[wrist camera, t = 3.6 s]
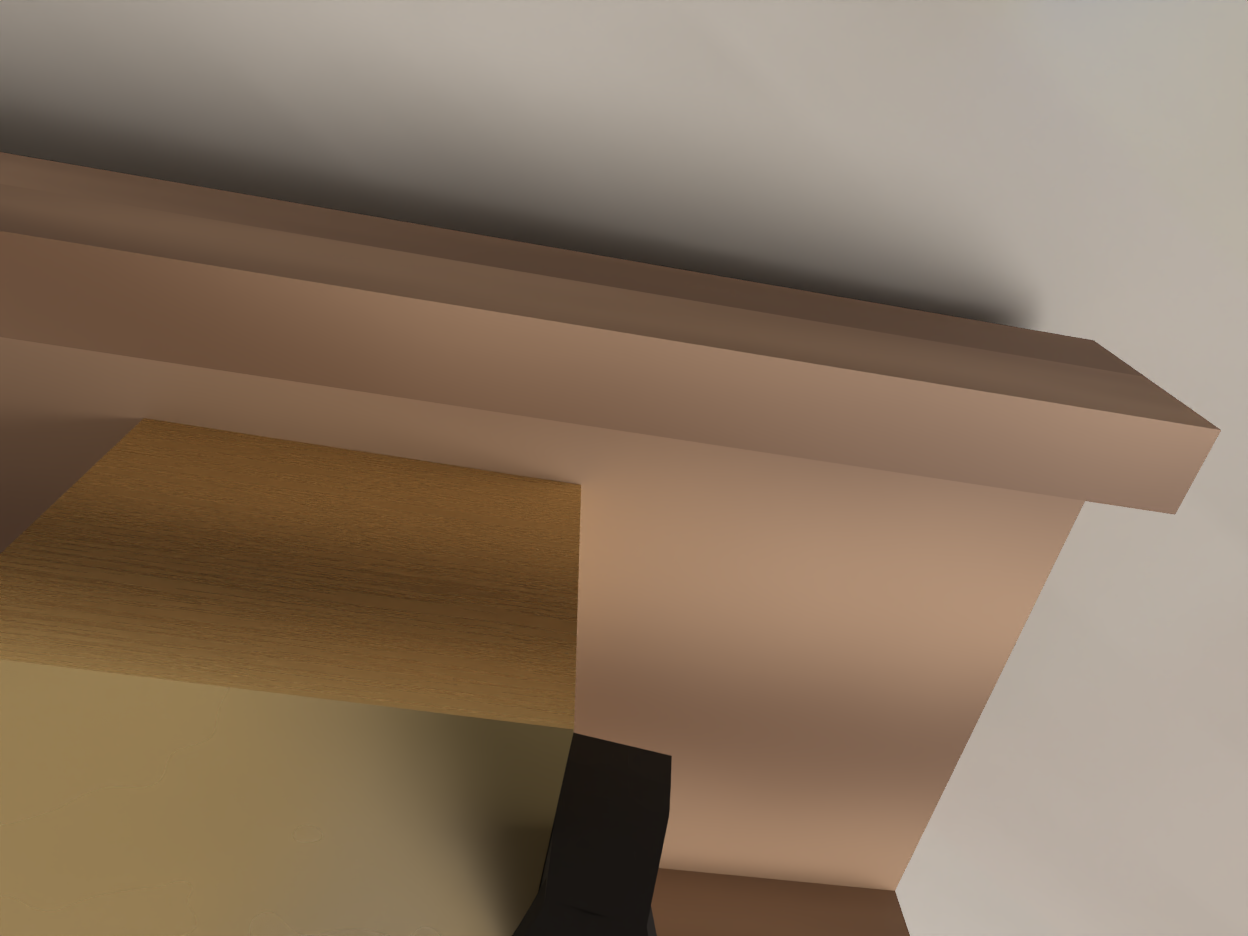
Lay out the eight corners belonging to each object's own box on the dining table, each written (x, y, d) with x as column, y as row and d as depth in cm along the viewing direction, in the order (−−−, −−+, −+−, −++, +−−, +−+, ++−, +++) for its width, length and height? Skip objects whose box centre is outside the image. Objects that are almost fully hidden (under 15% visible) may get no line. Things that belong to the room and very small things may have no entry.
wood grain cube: (523, 782, 13) (495, 1078, 9) (164, 741, 12) (-7, 1039, 9) (580, 484, 11) (573, 728, 7) (144, 418, 10) (-99, 646, 7)
